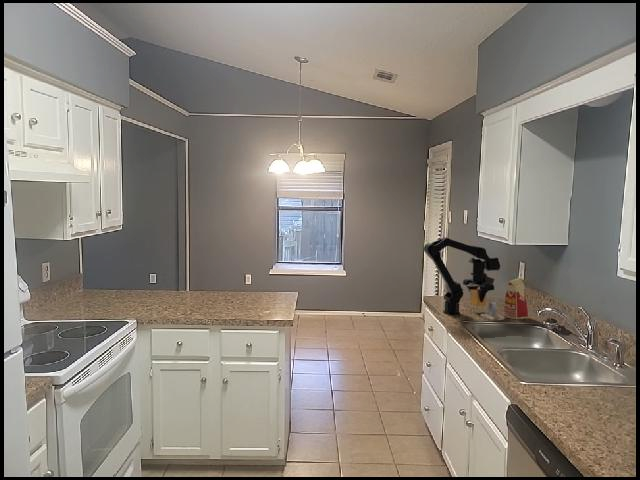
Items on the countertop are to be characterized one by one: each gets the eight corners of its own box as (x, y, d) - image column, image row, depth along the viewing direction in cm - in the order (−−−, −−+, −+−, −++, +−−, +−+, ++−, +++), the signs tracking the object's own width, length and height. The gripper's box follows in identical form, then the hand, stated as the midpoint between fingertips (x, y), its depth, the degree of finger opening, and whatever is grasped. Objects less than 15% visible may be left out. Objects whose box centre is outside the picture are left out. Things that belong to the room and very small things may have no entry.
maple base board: (492, 320, 229) (492, 318, 229) (480, 316, 237) (480, 313, 237) (504, 319, 231) (504, 317, 231) (492, 315, 240) (492, 312, 239)
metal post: (492, 316, 232) (492, 303, 232) (488, 315, 235) (488, 302, 234) (496, 315, 233) (496, 303, 233) (493, 314, 236) (493, 301, 235)
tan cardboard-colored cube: (476, 306, 242) (476, 291, 241) (469, 303, 247) (470, 289, 246) (485, 305, 243) (486, 290, 243) (479, 302, 249) (479, 288, 248)
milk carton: (516, 313, 242) (517, 275, 240) (529, 318, 233) (530, 278, 231) (501, 315, 239) (502, 276, 237) (514, 319, 230) (515, 279, 228)
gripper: (503, 272, 237) (503, 303, 239) (480, 267, 255) (479, 296, 256) (484, 274, 234) (484, 305, 235) (462, 268, 251) (462, 297, 253)
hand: (477, 301), depth 245 cm, fingers closed on tan cardboard-colored cube, 6 cm apart
